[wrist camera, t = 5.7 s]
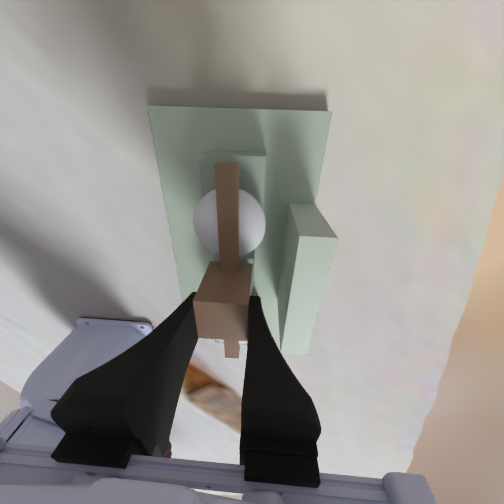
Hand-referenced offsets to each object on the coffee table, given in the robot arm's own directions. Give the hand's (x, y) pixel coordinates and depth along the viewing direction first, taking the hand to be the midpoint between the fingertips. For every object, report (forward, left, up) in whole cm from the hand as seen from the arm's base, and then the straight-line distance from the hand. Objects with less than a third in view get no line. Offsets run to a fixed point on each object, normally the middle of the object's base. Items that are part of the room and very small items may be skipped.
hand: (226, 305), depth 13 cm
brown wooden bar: (0, 0, -2) cm, 2 cm away
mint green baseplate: (0, 0, -7) cm, 7 cm away
